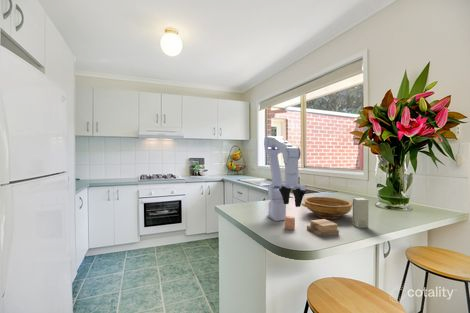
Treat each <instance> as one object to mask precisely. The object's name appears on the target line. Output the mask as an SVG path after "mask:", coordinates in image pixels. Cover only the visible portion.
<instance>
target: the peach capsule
mask: <svg viewBox="0 0 470 313" xmlns="http://www.w3.org/2000/svg"><path fill="white" fill-rule="evenodd" d="M295 229H296V217H294V216H291V215H286V216H285V220H284V230H286V231H294V230H295Z"/></svg>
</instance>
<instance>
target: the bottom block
mask: <svg viewBox="0 0 470 313" xmlns="http://www.w3.org/2000/svg"><path fill="white" fill-rule="evenodd" d="M306 230H307V231H308V232H310V233H311V234H313V235H315V236H317V237H319V238H327V237H332V236H333V237H334V236H339V235H340V230H339V229H337V230H335V231H328V232H321V231H319V230H317V229H315V228H313V227H311V226H310V224H309V225H306Z"/></svg>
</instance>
